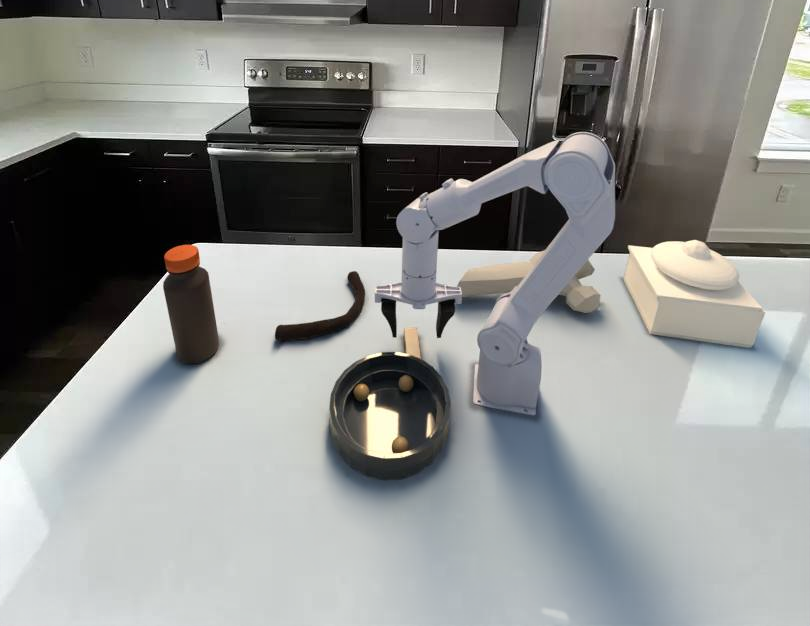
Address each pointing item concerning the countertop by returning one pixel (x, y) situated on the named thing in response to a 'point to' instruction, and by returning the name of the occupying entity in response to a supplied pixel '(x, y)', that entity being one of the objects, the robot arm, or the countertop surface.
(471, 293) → the faceted mallet
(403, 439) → the bead
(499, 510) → the countertop surface
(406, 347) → the block
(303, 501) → the countertop surface
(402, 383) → the bead
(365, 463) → the bowl
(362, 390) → the bead
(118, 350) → the countertop surface
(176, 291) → the bottle
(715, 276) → the butter dish
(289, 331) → the branch
